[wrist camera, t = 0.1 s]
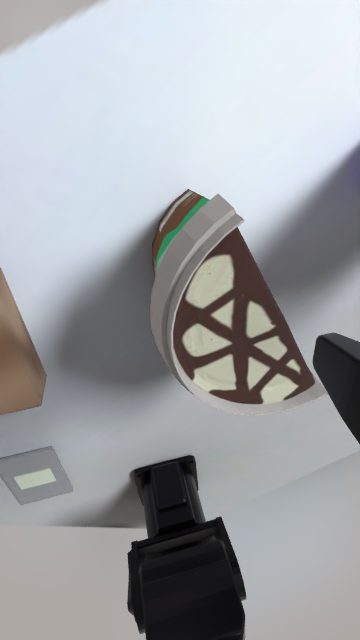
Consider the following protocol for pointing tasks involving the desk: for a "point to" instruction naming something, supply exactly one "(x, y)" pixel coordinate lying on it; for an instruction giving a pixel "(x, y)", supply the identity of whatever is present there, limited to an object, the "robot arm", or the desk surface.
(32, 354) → the walnut block
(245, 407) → the food container
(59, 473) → the card
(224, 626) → the robot arm
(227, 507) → the desk surface
